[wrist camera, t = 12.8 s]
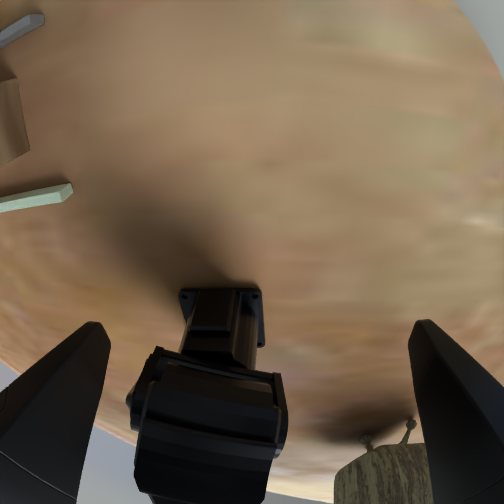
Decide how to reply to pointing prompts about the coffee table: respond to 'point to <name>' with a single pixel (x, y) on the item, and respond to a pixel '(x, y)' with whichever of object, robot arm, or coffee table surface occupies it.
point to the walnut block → (11, 123)
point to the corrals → (44, 194)
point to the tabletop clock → (386, 475)
